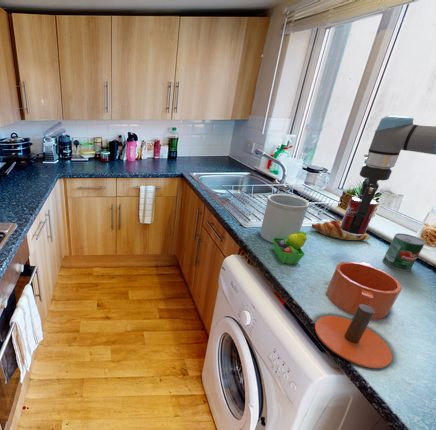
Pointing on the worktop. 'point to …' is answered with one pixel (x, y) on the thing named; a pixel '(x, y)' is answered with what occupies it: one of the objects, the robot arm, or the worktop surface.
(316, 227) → the croissant
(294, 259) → the fruit basket
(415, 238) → the canned tomato
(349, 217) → the soda can
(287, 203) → the utensil holder
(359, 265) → the pot
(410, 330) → the worktop surface
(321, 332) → the lid
